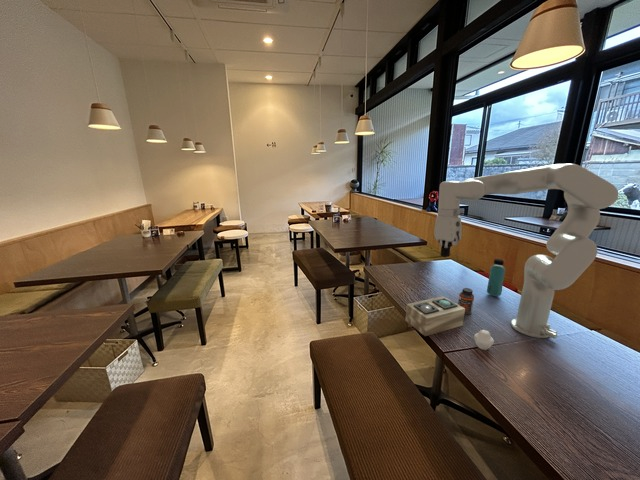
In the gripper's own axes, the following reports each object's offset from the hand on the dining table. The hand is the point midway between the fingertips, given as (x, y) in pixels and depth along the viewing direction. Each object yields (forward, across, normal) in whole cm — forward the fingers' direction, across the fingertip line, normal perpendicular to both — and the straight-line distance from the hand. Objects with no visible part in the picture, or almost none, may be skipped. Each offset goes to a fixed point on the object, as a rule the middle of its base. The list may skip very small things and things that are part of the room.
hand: (445, 256), depth 108 cm
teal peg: (+28, -2, +1) cm, 28 cm away
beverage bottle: (+30, +5, -42) cm, 52 cm away
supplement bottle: (+30, 0, -14) cm, 33 cm away
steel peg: (+28, -1, +11) cm, 30 cm away
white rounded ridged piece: (+30, -21, +1) cm, 36 cm away
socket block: (+29, -2, +6) cm, 30 cm away
